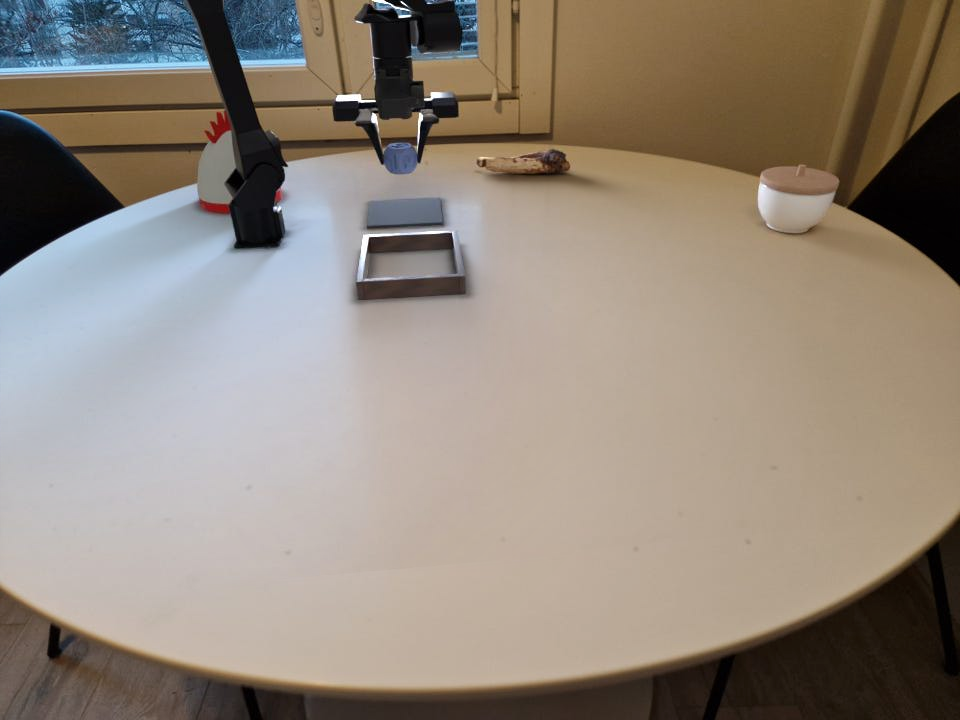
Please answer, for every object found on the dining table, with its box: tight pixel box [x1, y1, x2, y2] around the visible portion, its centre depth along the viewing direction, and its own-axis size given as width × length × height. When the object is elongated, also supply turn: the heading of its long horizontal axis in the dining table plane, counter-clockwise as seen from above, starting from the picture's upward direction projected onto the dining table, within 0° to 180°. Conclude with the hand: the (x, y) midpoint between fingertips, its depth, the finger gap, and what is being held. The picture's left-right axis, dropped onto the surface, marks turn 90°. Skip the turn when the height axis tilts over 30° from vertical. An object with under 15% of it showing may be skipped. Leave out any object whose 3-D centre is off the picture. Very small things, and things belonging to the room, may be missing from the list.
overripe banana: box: [476, 148, 571, 175], centre depth 126 cm, size 9×5×18 cm
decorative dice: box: [383, 142, 419, 176], centre depth 103 cm, size 4×4×4 cm
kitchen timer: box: [196, 109, 283, 214], centre depth 111 cm, size 14×14×15 cm
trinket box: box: [757, 163, 840, 234], centre depth 98 cm, size 11×11×9 cm
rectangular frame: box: [355, 230, 467, 301], centre depth 88 cm, size 14×16×2 cm
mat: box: [366, 197, 444, 229], centre depth 108 cm, size 12×12×1 cm
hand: (400, 163), depth 103 cm, fingers closed on decorative dice, 5 cm apart
